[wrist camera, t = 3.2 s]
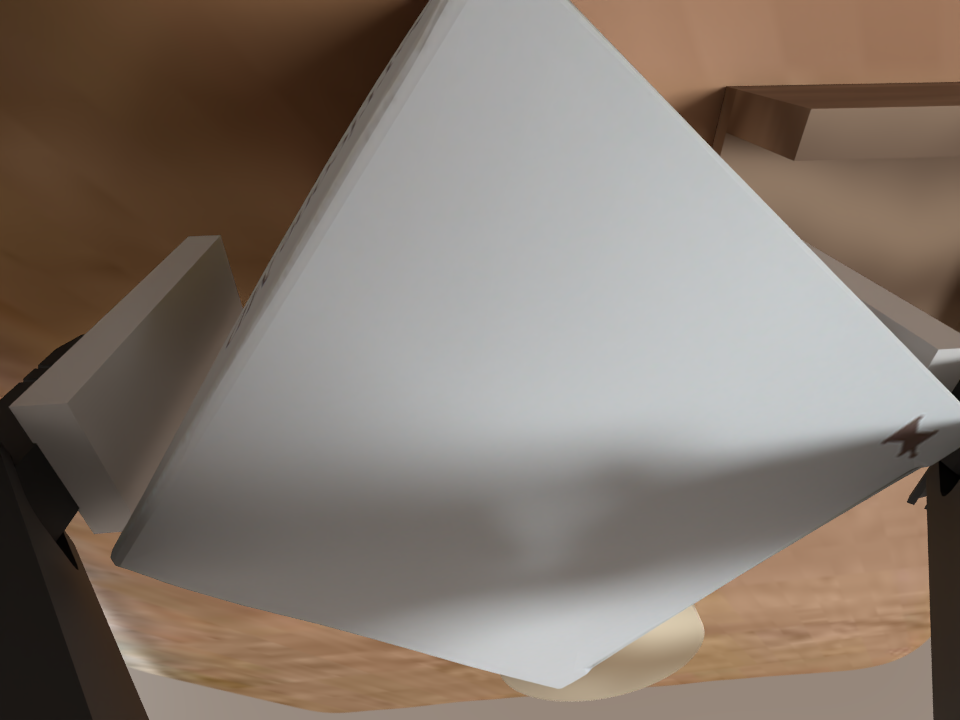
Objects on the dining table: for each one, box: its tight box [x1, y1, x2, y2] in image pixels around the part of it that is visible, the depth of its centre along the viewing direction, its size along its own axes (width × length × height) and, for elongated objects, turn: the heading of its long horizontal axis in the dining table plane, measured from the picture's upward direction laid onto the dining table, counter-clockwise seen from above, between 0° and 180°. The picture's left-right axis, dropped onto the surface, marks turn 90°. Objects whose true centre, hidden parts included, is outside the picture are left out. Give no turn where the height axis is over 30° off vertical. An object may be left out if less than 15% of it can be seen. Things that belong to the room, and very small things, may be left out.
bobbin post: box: [500, 604, 704, 702], centre depth 25 cm, size 8×8×12 cm
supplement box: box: [111, 0, 960, 689], centre depth 14 cm, size 10×9×17 cm
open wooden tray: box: [712, 82, 960, 333], centre depth 23 cm, size 16×16×5 cm
